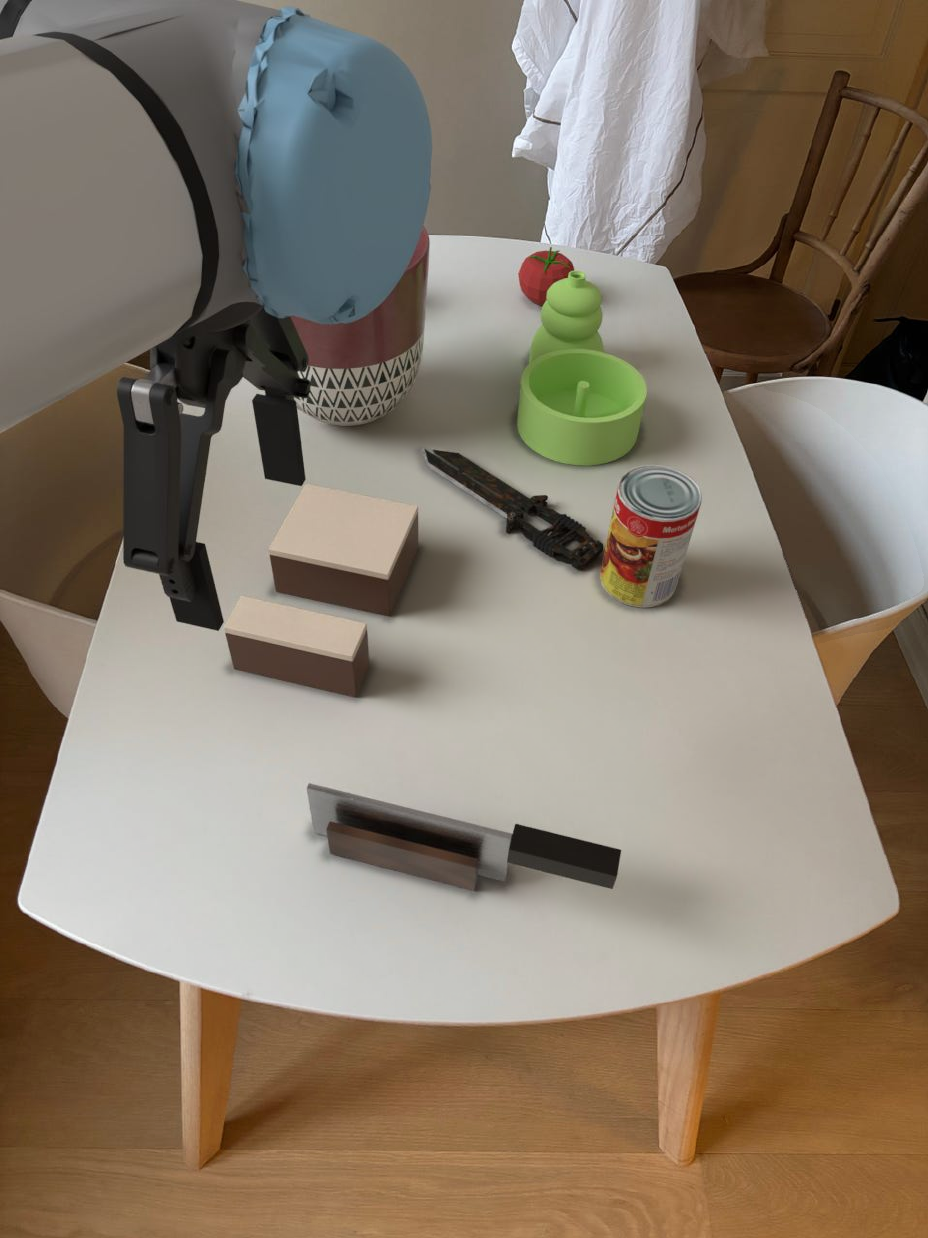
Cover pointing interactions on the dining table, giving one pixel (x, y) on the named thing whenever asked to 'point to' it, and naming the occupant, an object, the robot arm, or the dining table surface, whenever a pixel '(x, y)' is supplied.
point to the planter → (368, 353)
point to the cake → (345, 549)
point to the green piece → (577, 383)
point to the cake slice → (298, 645)
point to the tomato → (542, 273)
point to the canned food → (649, 534)
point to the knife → (514, 514)
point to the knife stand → (402, 855)
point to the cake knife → (469, 838)
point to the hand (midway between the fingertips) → (245, 545)
